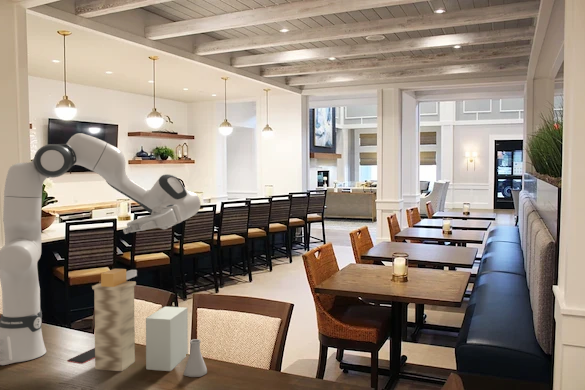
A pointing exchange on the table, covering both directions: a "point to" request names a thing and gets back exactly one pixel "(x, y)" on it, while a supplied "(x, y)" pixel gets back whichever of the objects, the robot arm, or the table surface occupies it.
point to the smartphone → (83, 357)
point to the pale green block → (166, 338)
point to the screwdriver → (116, 277)
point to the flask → (195, 361)
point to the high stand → (114, 326)
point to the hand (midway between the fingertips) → (133, 230)
